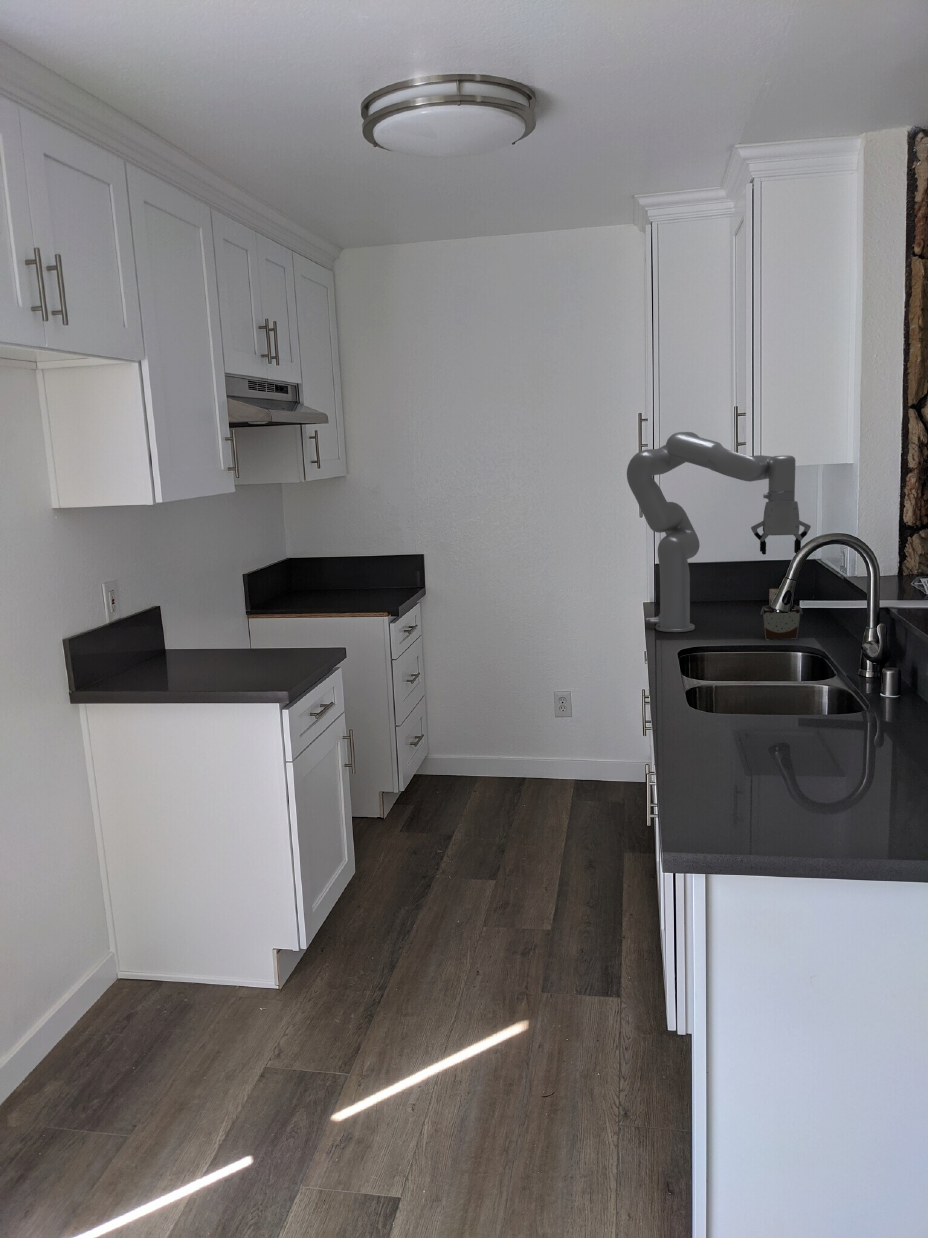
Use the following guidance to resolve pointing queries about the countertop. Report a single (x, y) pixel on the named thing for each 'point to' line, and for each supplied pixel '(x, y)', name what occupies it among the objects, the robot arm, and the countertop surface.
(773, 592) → the maple block
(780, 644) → the countertop surface
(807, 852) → the countertop surface
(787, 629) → the food container
